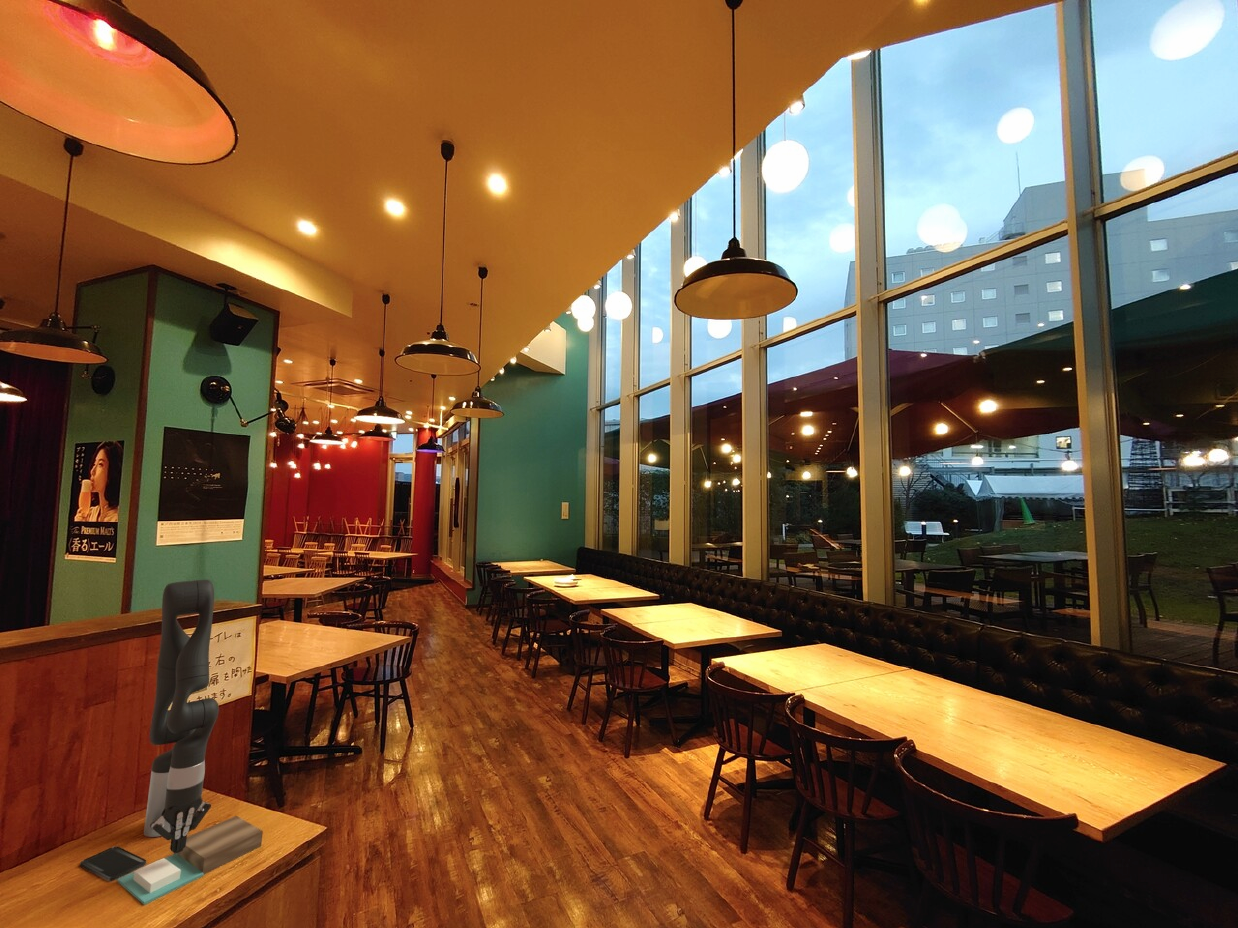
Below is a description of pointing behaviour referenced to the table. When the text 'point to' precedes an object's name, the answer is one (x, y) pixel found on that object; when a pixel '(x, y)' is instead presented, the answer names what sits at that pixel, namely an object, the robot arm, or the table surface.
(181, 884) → the mat
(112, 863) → the phone
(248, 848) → the block
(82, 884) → the table surface
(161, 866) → the white rectangular block
